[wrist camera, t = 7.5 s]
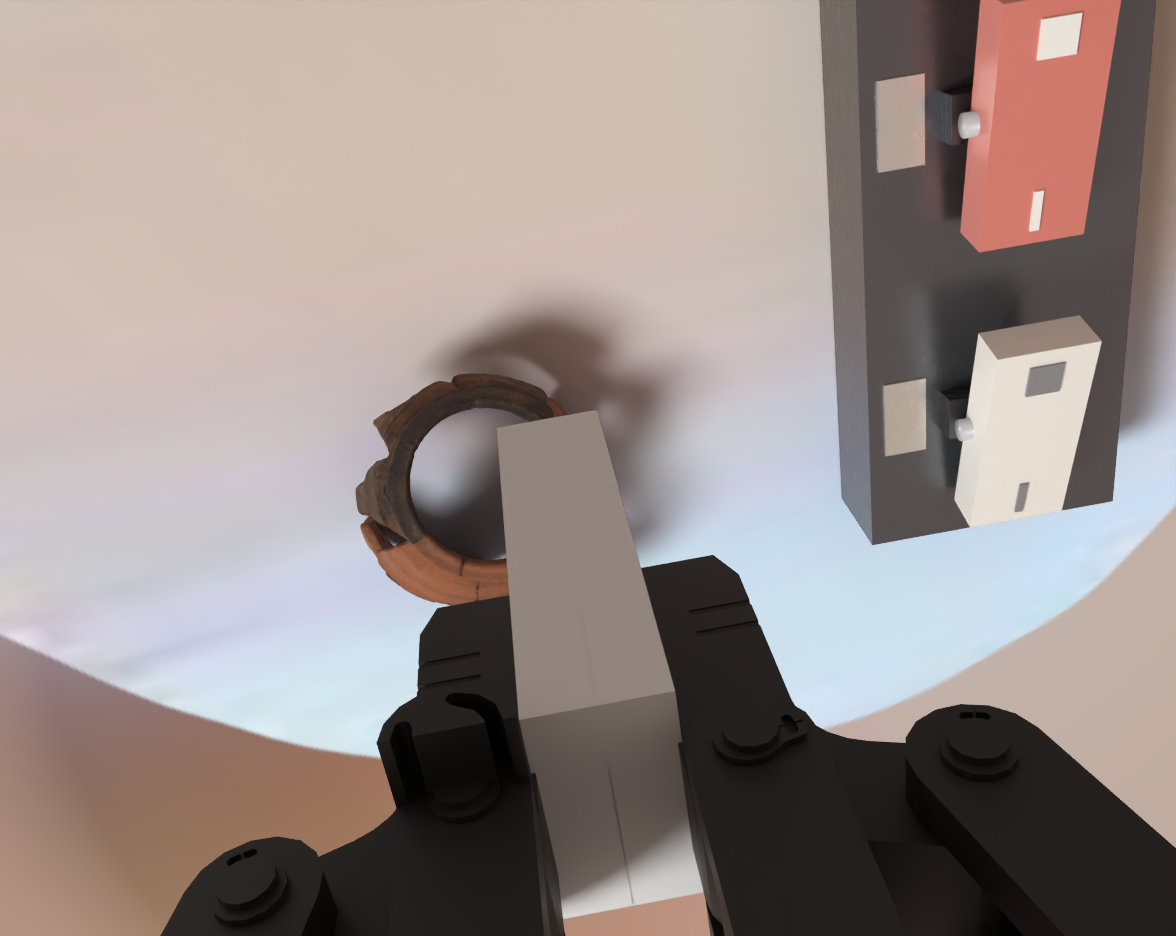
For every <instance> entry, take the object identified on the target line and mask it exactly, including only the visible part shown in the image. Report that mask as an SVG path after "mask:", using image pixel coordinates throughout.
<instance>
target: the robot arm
mask: <svg viewBox="0 0 1176 936" xmlns="http://www.w3.org/2000/svg"><path fill="white" fill-rule="evenodd" d="M497 440H498V453H499V467H500V480H501V493H502V506H503V519H504V532H505V545H506V558H507V571H508V584H509V595H507V596H501V597H496V598H490V599H485V600H479V601H474V602H468V603H463V604H457V605H452V606H447V607H441V608H437V610H436V611H435V613H434V614H433V616H432V617H431V619H430V621H429V622H428V624H427V625H426V627H425V628H424V630H423V631H422V633H421V635H420V644H419V668H418V684H417V686H418V691H417V697H415V698H413V699H412V700H410V701H408V702H407V703H405V704H403V705H402V706H400V707H399V708H398V709H397V710H396V711H395V712H394V713H393V714H392V715H391V717H390V718H389V719H388V720H387V721H386V722H385V723H384V724H383V727H382V730H381V732H380V735H379V738H378V741H377V746H378V749H379V752H380V756H381V759H382V762H383V765H384V768H385V772H386V775H387V778H388V781H389V785H390V787H391V791H392V795H393V798H394V801H395V804H396V810H395V812H394V813H393V814H392V815H391V816H390V817H389V818H388V819H387V820H386V821H384V822H383V823H382V824H381V825H379V826H378V827H377V828H375V829H374V830H373V831H371V832H369V833H367V834H366V835H364V836H362V837H360V838H358V839H357V840H355V841H353V842H351V843H348V844H346V845H344V846H342V847H340V848H337V849H335V850H333V851H331V852H328V853H326V854H324V855H322V856H320V857H318V855H317V853H316V851H314V850H313V849H311V848H310V847H309V846H307V845H306V844H304V843H303V842H302V841H301V840H295V839H289V838H283V837H272V838H266V839H260V840H253V841H250V842H247V843H245V844H243V845H241V846H239V847H236V848H234V849H231V850H229V851H227V852H225V853H223V854H222V855H221V856H219V857H218V858H217V859H215V860H214V861H213V862H212V863H210V864H209V865H208V866H206V867H205V868H204V869H202V870H201V871H200V873H199V874H198V875H197V877H196V878H195V879H194V880H193V882H192V883H191V884H190V886H189V887H188V888H187V890H186V891H185V892H184V894H183V896H182V898H181V899H180V901H179V903H178V905H177V907H176V909H175V910H174V912H173V914H172V916H171V918H170V920H169V921H168V923H167V925H166V927H165V929H164V930H163V932H162V934H161V936H565V932H564V925H563V918H564V919H565V918H571V917H575V916H581V915H586V914H591V913H597V912H602V911H607V910H613V909H617V908H623V907H628V906H634V905H638V904H643V903H649V902H654V901H660V900H665V899H670V898H675V897H681V896H686V895H691V894H696V893H702V892H703V891H704V895H705V899H706V906H707V913H708V920H709V928H710V935H711V936H1176V848H1175V847H1174V846H1172V845H1171V844H1170V843H1169V842H1168V841H1167V840H1166V839H1165V838H1164V837H1162V836H1161V835H1160V834H1159V833H1158V832H1156V830H1154V829H1153V828H1152V827H1151V826H1150V825H1149V824H1147V823H1146V822H1145V821H1144V820H1143V819H1142V818H1141V817H1139V816H1138V815H1137V814H1136V813H1135V812H1134V811H1133V810H1132V809H1130V808H1129V807H1128V806H1127V805H1126V804H1125V803H1124V802H1122V801H1121V800H1120V799H1119V798H1118V797H1117V796H1116V795H1114V794H1113V793H1112V792H1111V791H1110V790H1109V789H1108V788H1107V787H1105V786H1104V785H1103V784H1102V783H1101V782H1099V780H1097V779H1096V778H1095V777H1094V776H1093V775H1092V774H1091V773H1089V772H1088V771H1087V770H1086V769H1085V768H1083V767H1082V766H1081V765H1080V764H1079V763H1078V762H1077V761H1076V760H1075V759H1073V758H1072V757H1071V756H1070V755H1069V754H1068V753H1067V752H1065V751H1064V750H1063V749H1062V748H1061V747H1060V746H1059V745H1057V744H1056V743H1055V742H1054V741H1053V740H1052V739H1051V738H1049V737H1048V736H1047V735H1046V734H1045V733H1044V732H1043V731H1042V730H1040V729H1039V728H1038V727H1036V726H1035V725H1033V724H1032V723H1030V722H1028V721H1027V720H1025V719H1023V718H1022V717H1020V716H1019V715H1017V714H1015V713H1012V712H1008V711H1005V710H1002V709H999V708H995V707H992V706H988V705H987V706H986V705H965V704H960V705H955V706H951V707H946V708H942V709H937V710H934V711H933V712H931V713H929V714H928V715H926V716H924V717H923V718H921V719H919V720H918V721H916V723H915V724H914V726H913V727H912V729H911V731H910V732H909V733H908V735H907V737H906V743H895V742H877V741H865V740H857V739H850V738H845V737H842V736H839V735H836V734H833V733H830V732H827V731H825V730H823V729H821V728H820V727H818V726H816V725H815V724H814V722H813V721H812V720H811V718H810V717H809V716H808V714H807V713H806V712H805V711H803V710H801V709H799V708H798V707H796V706H795V705H794V703H793V702H792V700H791V698H790V695H789V693H788V691H787V688H786V686H785V683H784V681H783V679H782V676H781V674H780V672H779V669H778V667H777V665H776V662H775V660H774V657H773V655H772V653H771V650H770V648H769V646H768V643H767V641H766V638H765V636H764V634H763V631H762V629H761V627H760V625H759V624H758V619H757V617H756V615H755V612H754V610H753V608H752V605H751V604H750V602H749V598H748V596H747V593H746V591H745V589H744V586H743V584H742V581H741V579H740V577H739V574H738V573H736V572H735V571H734V570H732V569H731V568H730V567H728V566H727V565H726V564H724V563H723V562H722V561H720V560H719V559H718V558H716V557H715V556H714V555H710V556H705V557H699V558H694V559H688V560H683V561H678V562H672V563H667V564H661V565H656V566H650V567H645V568H641V567H640V563H639V559H638V556H637V552H636V549H635V545H634V541H633V538H632V534H631V531H630V527H629V523H628V520H627V516H626V513H625V509H624V505H623V502H622V498H621V495H620V491H619V487H618V484H617V480H616V477H615V473H614V469H613V466H612V462H611V459H610V455H609V451H608V448H607V444H606V441H605V437H604V433H603V430H602V426H601V423H600V419H599V415H598V412H597V410H593V411H587V412H582V413H576V414H571V415H565V416H559V417H554V418H548V419H543V420H537V421H531V422H526V423H520V424H515V425H509V426H503V427H498V428H497ZM702 887H703V889H702ZM562 913H563V915H562Z"/></svg>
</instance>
